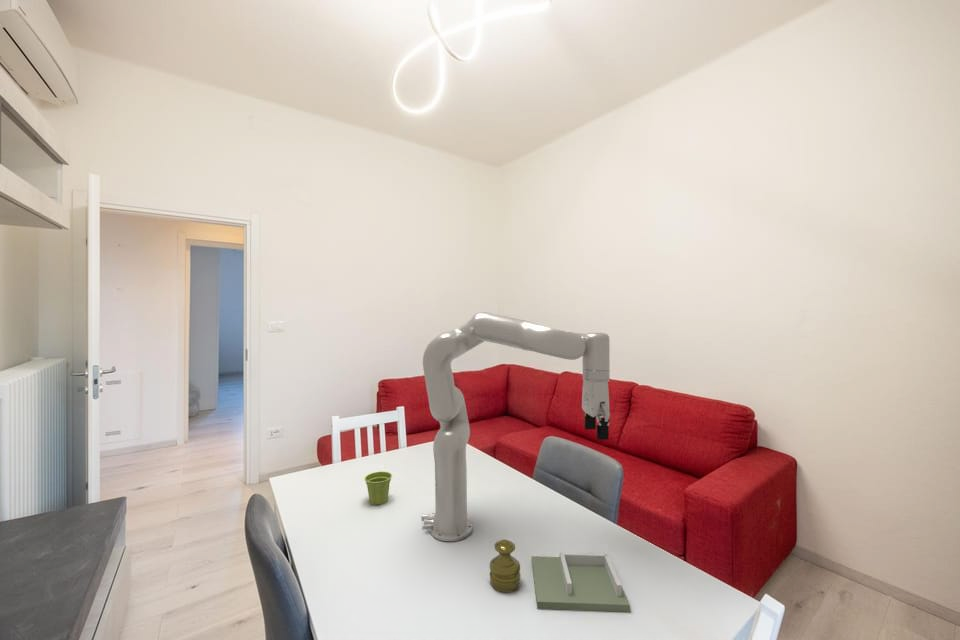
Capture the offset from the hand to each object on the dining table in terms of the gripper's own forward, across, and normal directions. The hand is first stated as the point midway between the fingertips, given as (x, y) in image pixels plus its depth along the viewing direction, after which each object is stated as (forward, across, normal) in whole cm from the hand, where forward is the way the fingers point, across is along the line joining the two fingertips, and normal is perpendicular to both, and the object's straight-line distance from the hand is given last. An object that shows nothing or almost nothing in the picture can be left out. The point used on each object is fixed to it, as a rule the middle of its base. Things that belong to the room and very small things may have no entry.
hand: (596, 434), depth 111 cm
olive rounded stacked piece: (+30, +17, -29) cm, 45 cm away
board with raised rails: (+30, +19, -12) cm, 37 cm away
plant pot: (+31, -27, -68) cm, 79 cm away
